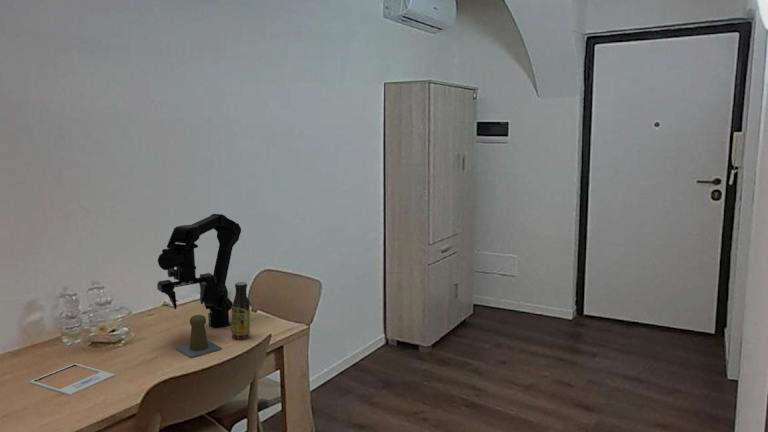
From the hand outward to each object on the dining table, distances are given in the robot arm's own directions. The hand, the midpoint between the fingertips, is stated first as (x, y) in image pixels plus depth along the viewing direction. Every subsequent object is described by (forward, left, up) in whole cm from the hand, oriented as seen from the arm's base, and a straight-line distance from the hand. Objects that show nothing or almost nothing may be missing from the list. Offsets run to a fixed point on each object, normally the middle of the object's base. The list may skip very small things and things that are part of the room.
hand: (188, 306), depth 202 cm
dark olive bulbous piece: (0, +11, -12) cm, 16 cm away
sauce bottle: (-16, +8, -12) cm, 21 cm away
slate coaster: (0, +11, -12) cm, 16 cm away
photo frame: (+38, +14, -13) cm, 43 cm away
